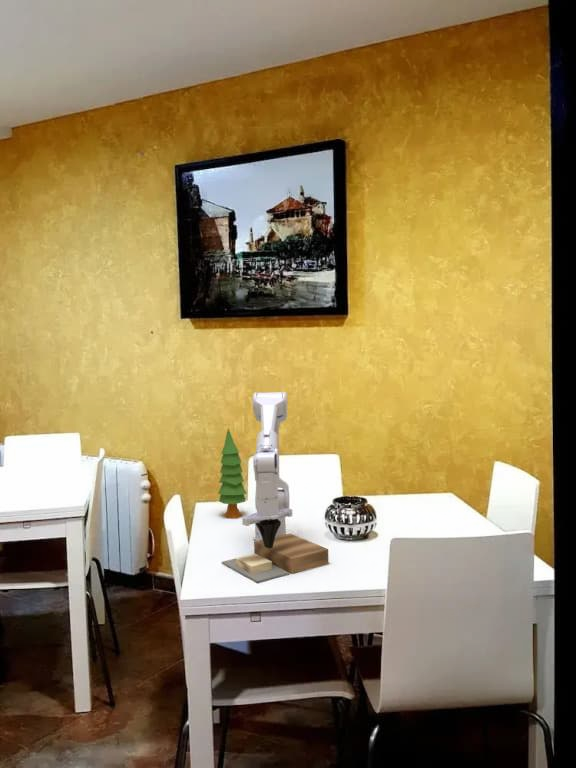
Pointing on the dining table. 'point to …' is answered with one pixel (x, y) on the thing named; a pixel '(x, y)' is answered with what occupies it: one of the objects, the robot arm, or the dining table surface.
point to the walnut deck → (293, 553)
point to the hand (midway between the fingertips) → (268, 547)
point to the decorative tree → (231, 478)
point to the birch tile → (254, 563)
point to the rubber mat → (259, 576)
